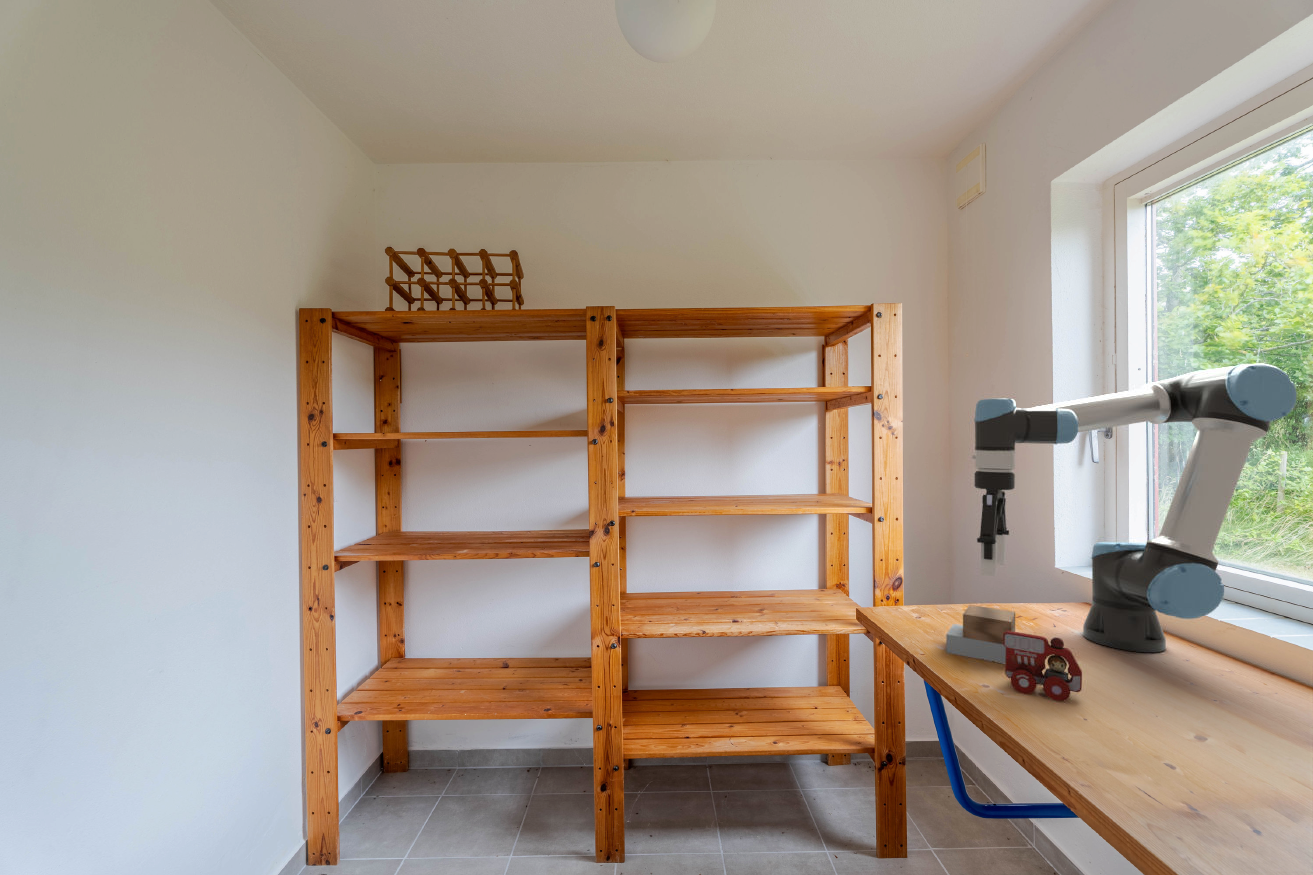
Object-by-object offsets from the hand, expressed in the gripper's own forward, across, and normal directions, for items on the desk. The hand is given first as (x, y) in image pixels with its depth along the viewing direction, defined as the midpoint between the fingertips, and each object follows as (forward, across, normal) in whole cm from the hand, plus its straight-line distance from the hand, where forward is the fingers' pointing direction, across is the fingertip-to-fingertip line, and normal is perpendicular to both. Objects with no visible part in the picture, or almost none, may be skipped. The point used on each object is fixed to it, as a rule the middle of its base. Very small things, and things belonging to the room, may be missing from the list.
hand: (993, 569), depth 128 cm
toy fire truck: (+19, +14, +10) cm, 26 cm away
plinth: (+19, -1, -1) cm, 19 cm away
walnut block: (+15, -1, -1) cm, 15 cm away
